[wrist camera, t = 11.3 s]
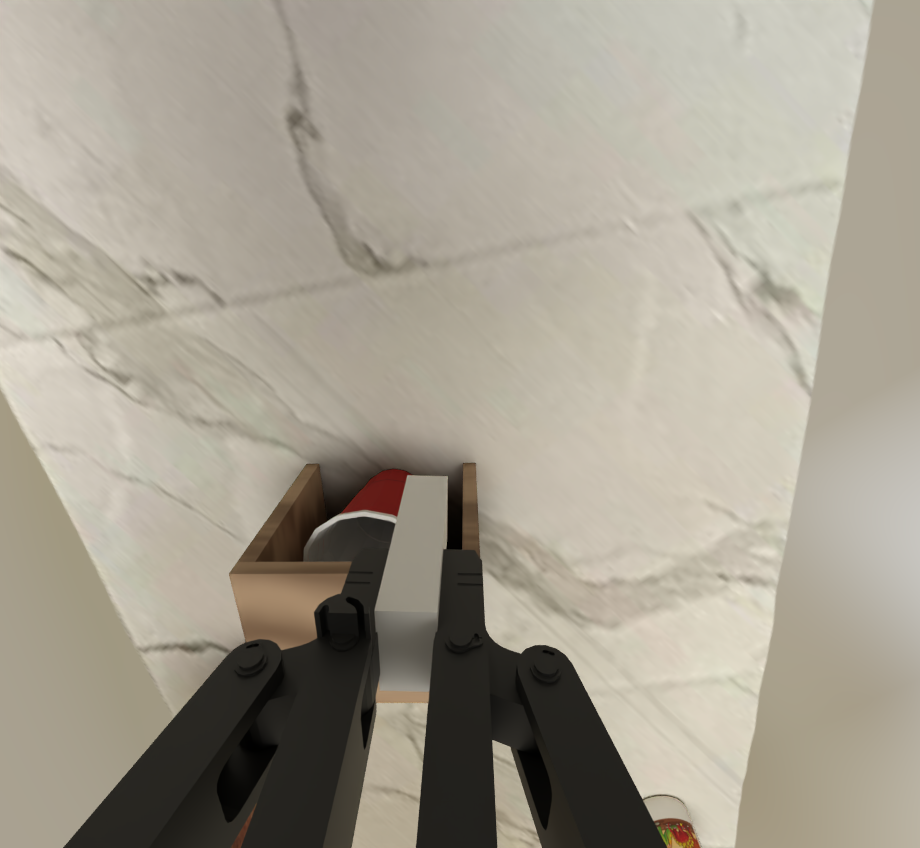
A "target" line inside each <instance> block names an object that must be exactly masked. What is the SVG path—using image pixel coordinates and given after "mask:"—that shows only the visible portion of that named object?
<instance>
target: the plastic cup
mask: <svg viewBox="0 0 920 848" xmlns="http://www.w3.org/2000/svg"><path fill="white" fill-rule="evenodd" d="M407 475H412V474H410V473H408V472H406V471H404V470H398V469H390V470H385V471H382V472H380V473H379V474H377V475H376V476H374V477H373V478H371V479H370V480H369V482H368V483H367V484H366V486H365V487H364V488H363V489H361V490H360V491H359V493H358V494H357V495H356V496H355V497H354V498H353V500H352V501H351V502H350V503H349V504H348V506H347V507H346V508H345V509H344V510H343V511H342V513H341V514H338V515H337V516H335V517H334V518H332V519H330V520H329V521H327V522H326V523H324V524H322V525H321V526H319V527H318V528H316V529H315V530H314V532H313V534H312V535H311V537H310V539H309V541H308V542H307V544H306V546H305V547H304V558H303V562H352V560H353V558H354V557H355V556H356V555H357V554H358V553H359V552H360V551H361V550H362V549H363V548H376V549H390V545H391V541H392V536H393V532H394V528H395V524H396V520H397V516H398V512H399V508H400V504H401V500H402V495H403V491H404V487H405V483H406V479H407Z"/></svg>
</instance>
